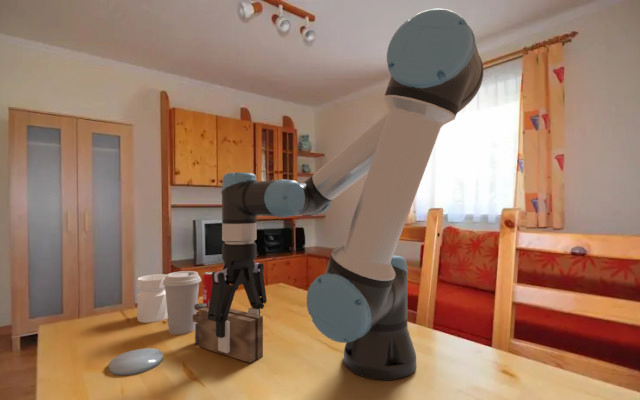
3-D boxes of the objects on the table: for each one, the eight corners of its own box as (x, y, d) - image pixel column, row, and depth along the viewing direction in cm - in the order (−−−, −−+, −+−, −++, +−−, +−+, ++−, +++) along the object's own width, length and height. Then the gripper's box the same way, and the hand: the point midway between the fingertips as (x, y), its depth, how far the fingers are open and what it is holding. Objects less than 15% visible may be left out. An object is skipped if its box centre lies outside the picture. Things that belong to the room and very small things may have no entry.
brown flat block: (262, 356, 74) (262, 315, 74) (251, 363, 71) (251, 319, 71) (203, 338, 84) (203, 301, 84) (191, 343, 81) (191, 305, 81)
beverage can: (217, 313, 103) (217, 274, 103) (200, 313, 103) (200, 274, 103) (222, 308, 108) (222, 271, 108) (206, 308, 108) (206, 271, 109)
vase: (169, 320, 98) (169, 278, 98) (135, 324, 94) (135, 281, 94) (170, 311, 106) (170, 273, 106) (138, 314, 102) (139, 275, 102)
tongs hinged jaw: (255, 359, 72) (255, 318, 72) (250, 362, 71) (250, 321, 71) (196, 341, 82) (196, 305, 82) (190, 343, 80) (190, 307, 80)
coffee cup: (187, 338, 84) (188, 278, 84) (154, 335, 86) (154, 277, 86) (207, 324, 94) (208, 271, 94) (177, 322, 96) (177, 269, 96)
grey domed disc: (172, 359, 73) (172, 354, 73) (125, 380, 64) (126, 375, 64) (145, 349, 78) (145, 344, 78) (99, 367, 70) (99, 362, 70)
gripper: (258, 237, 86) (258, 325, 86) (188, 246, 68) (187, 358, 68) (281, 238, 82) (282, 331, 82) (213, 248, 64) (213, 367, 64)
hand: (239, 343), depth 75 cm, fingers open, 8 cm apart
